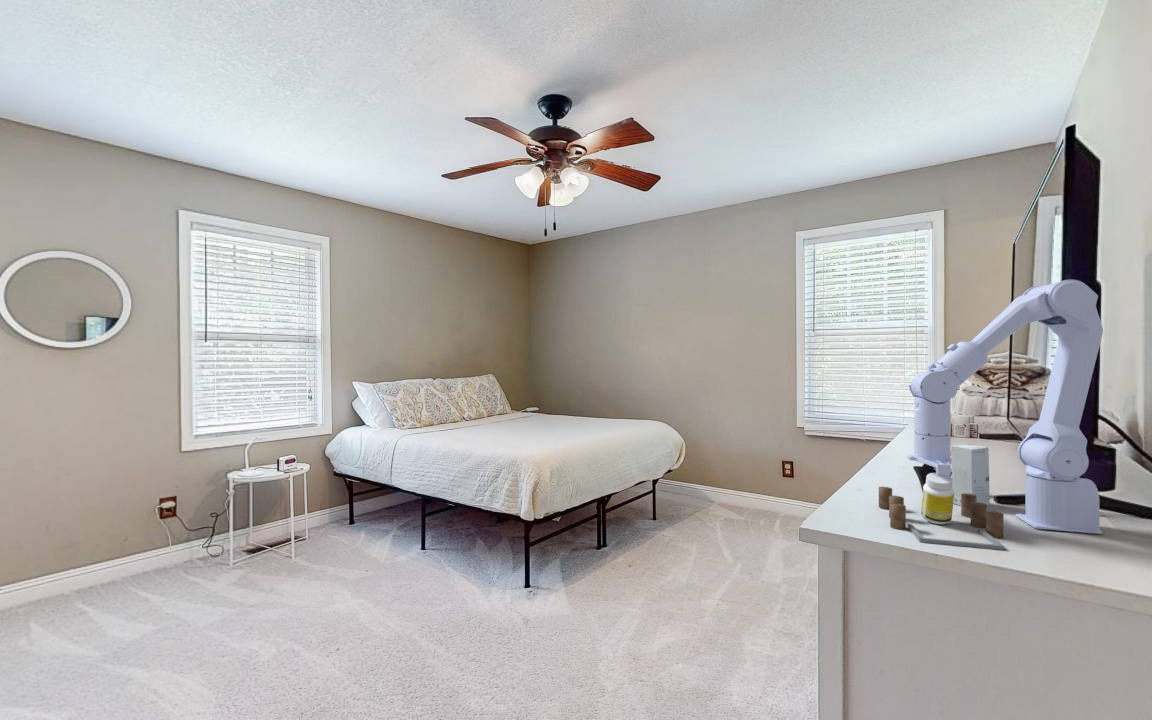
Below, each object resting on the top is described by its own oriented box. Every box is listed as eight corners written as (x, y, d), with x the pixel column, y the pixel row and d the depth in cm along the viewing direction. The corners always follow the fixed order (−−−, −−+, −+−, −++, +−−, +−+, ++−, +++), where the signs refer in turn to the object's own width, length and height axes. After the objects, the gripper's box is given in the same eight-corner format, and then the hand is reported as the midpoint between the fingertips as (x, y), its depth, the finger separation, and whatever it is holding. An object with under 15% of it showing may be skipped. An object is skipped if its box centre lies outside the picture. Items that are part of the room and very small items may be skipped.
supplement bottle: (957, 523, 96) (961, 483, 94) (931, 526, 96) (934, 485, 94) (940, 509, 101) (944, 470, 98) (915, 511, 101) (918, 472, 98)
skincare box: (973, 509, 106) (973, 449, 106) (949, 503, 110) (949, 445, 110) (991, 505, 108) (991, 446, 108) (967, 499, 113) (967, 443, 112)
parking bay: (981, 531, 93) (981, 528, 93) (1004, 550, 84) (1004, 546, 84) (905, 524, 97) (905, 521, 97) (920, 541, 88) (920, 538, 88)
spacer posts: (972, 512, 103) (972, 492, 103) (1006, 538, 89) (1006, 515, 89) (874, 505, 109) (874, 486, 109) (891, 528, 95) (891, 506, 95)
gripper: (899, 428, 109) (899, 493, 109) (918, 439, 95) (918, 513, 95) (939, 429, 106) (939, 496, 106) (964, 441, 93) (964, 517, 93)
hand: (932, 505), depth 101 cm, fingers closed
